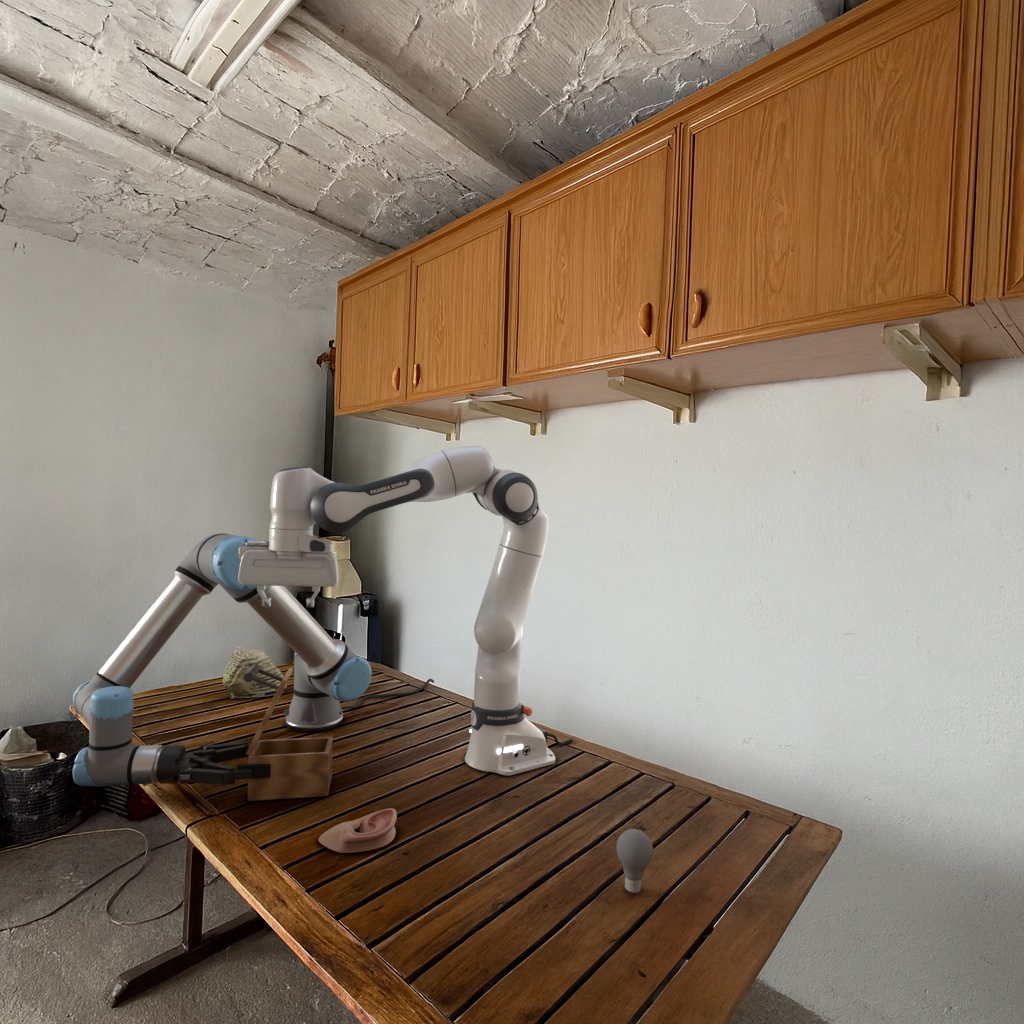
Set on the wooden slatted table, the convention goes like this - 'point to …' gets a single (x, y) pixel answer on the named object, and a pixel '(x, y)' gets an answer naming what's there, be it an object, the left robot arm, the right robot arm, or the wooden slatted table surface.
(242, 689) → the fossil
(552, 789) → the wooden slatted table surface
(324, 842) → the anatomical model
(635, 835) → the light bulb
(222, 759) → the left robot arm
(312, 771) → the chest
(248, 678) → the lid
